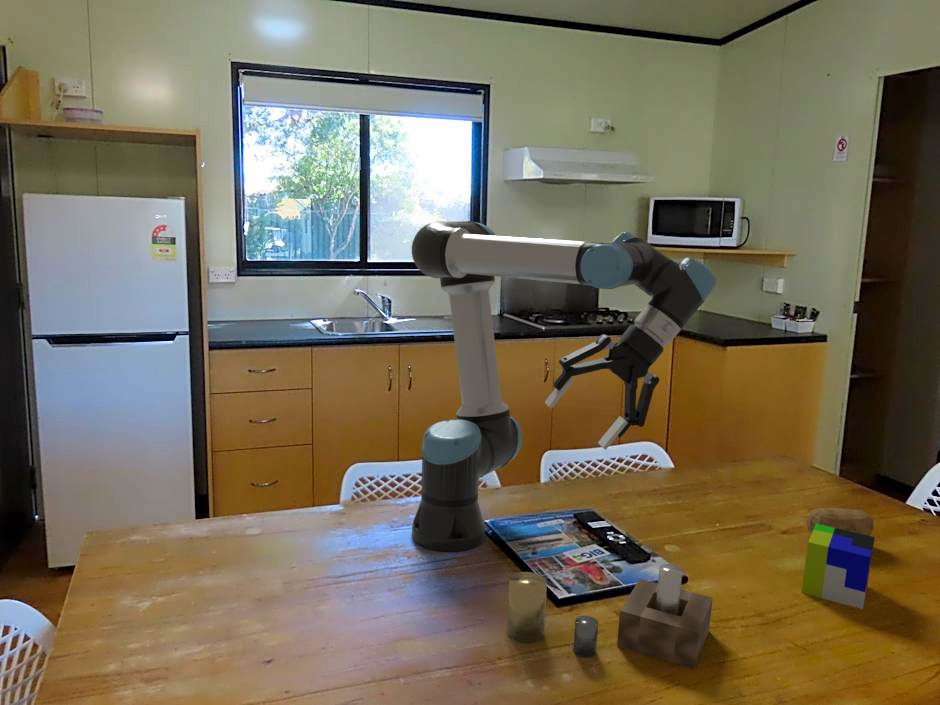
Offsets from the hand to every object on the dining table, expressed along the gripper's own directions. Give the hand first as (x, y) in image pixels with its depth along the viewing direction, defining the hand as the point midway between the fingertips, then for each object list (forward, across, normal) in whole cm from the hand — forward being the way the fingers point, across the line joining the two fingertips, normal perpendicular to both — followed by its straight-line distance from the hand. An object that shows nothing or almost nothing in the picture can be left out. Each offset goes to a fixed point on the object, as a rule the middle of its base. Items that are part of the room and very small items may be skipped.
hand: (575, 426), depth 136 cm
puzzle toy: (-6, +55, -14) cm, 57 cm away
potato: (-13, +66, +3) cm, 68 cm away
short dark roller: (+25, +12, -27) cm, 39 cm away
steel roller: (+17, +23, -26) cm, 38 cm away
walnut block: (+17, +23, -26) cm, 38 cm away
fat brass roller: (+30, +6, -21) cm, 37 cm away
